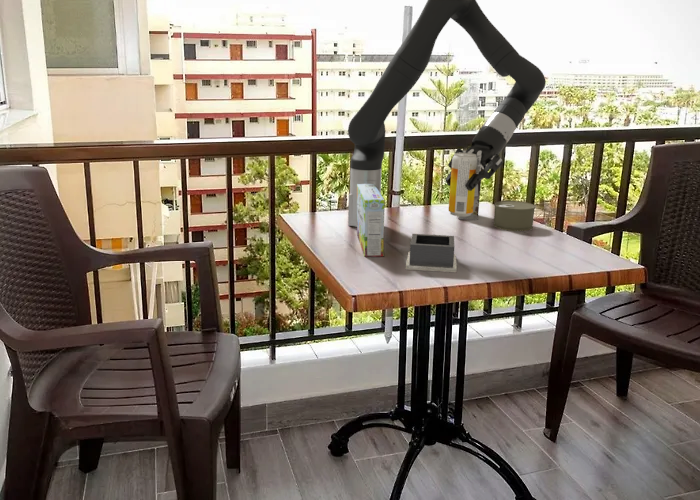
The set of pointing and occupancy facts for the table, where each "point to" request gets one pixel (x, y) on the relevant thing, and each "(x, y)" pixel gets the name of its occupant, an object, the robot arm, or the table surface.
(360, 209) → the snack box
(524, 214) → the grey round container
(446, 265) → the can holder
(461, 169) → the beer can
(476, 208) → the coffee box
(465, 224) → the table surface
